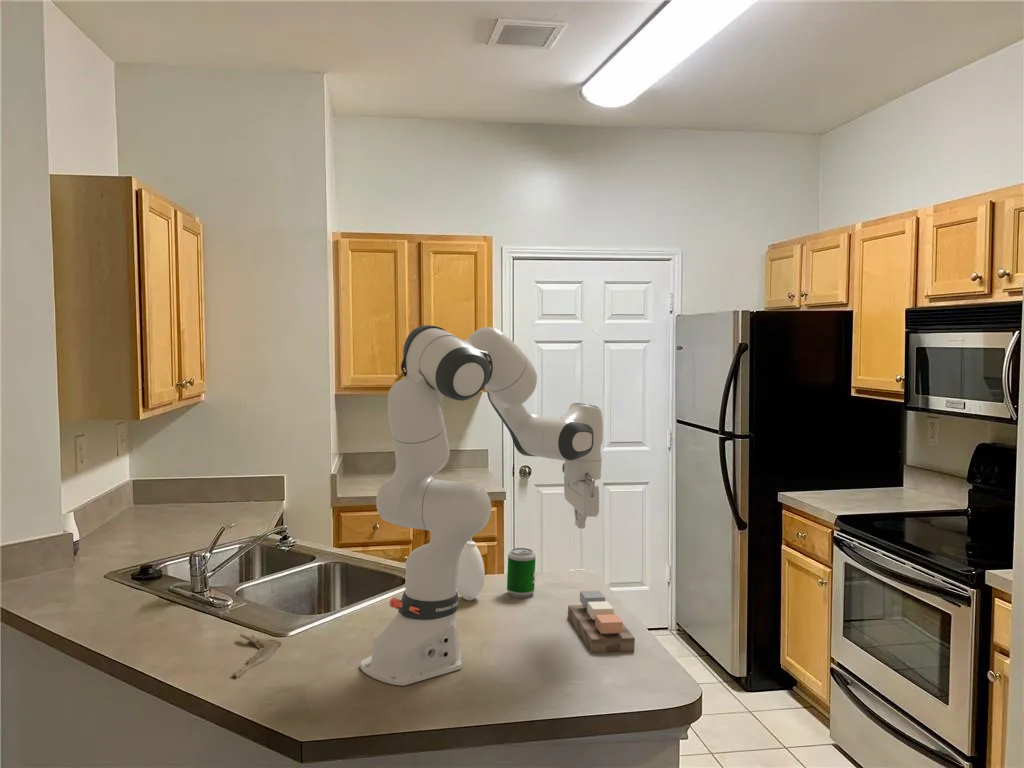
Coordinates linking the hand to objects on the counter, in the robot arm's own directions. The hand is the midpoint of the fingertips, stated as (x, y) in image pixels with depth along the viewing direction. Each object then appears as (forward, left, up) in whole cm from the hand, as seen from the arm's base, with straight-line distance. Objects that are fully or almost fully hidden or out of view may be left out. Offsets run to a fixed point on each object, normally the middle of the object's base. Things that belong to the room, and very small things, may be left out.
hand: (580, 527), depth 190 cm
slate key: (+5, -1, -23) cm, 24 cm away
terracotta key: (-4, -12, -24) cm, 27 cm away
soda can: (+9, +25, -25) cm, 36 cm away
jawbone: (-65, +41, -25) cm, 81 cm away
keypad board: (+1, -6, -25) cm, 26 cm away
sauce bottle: (-4, +32, -25) cm, 40 cm away
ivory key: (+1, -6, -24) cm, 24 cm away
